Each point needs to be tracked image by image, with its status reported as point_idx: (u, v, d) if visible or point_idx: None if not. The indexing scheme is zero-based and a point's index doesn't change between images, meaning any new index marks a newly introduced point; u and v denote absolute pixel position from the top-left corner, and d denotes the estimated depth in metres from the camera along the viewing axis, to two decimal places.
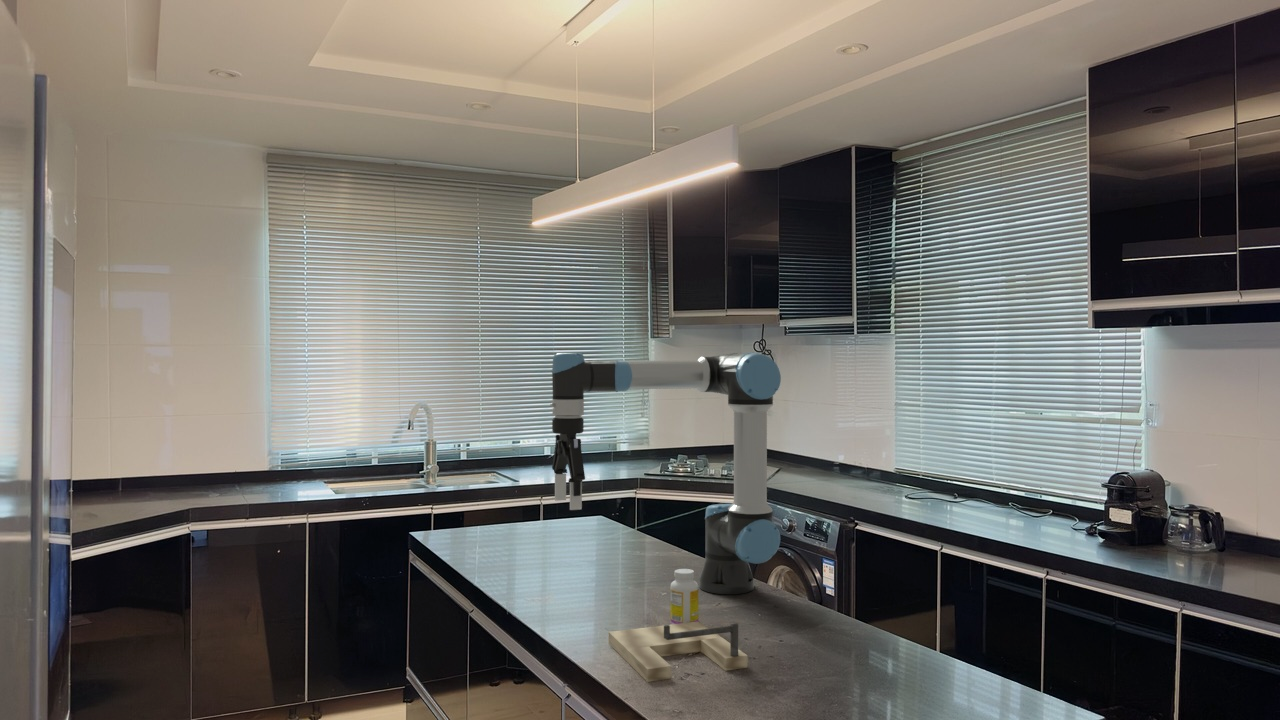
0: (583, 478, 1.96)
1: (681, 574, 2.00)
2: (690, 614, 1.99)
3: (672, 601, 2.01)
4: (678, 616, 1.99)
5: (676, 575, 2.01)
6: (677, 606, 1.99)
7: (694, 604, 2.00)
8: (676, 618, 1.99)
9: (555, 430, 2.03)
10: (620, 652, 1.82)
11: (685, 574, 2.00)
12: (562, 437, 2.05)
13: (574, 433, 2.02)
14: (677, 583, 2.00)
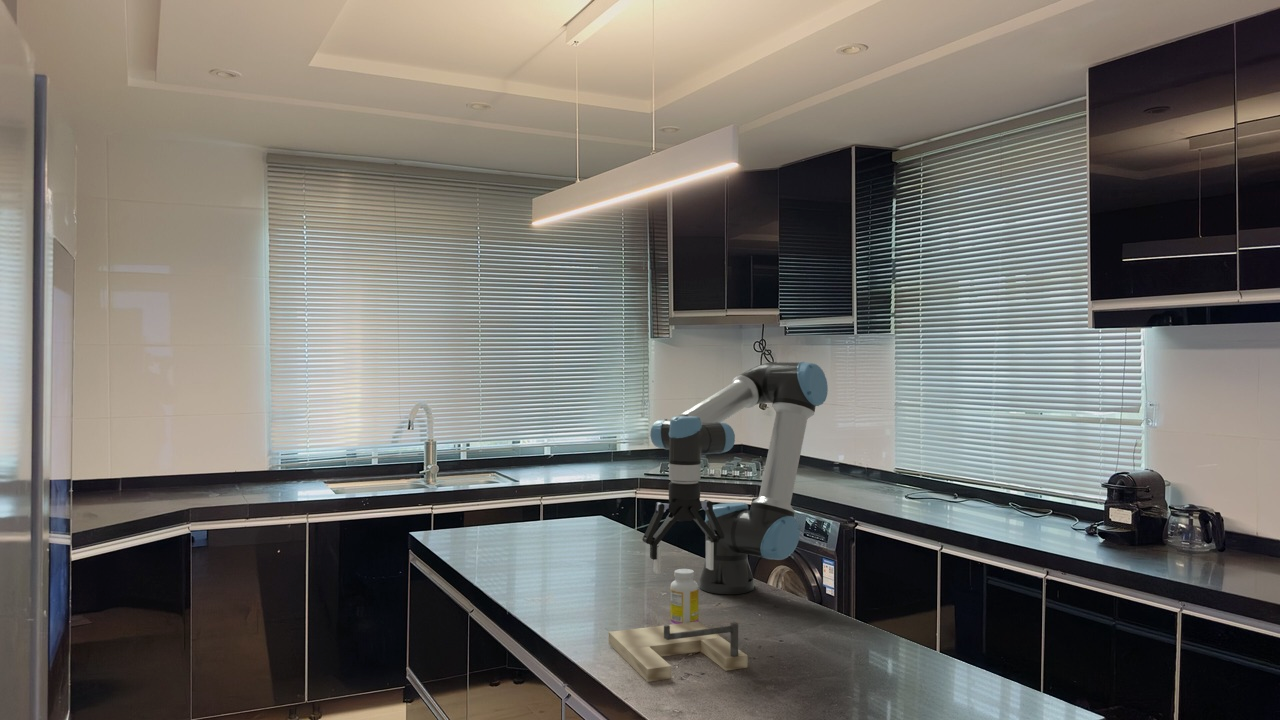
0: (645, 542, 1.98)
1: (681, 574, 2.00)
2: (690, 614, 1.99)
3: (672, 601, 2.01)
4: (678, 616, 1.99)
5: (676, 575, 2.01)
6: (677, 606, 1.99)
7: (694, 604, 2.00)
8: (676, 618, 1.99)
9: None
10: (620, 652, 1.82)
11: (685, 574, 2.00)
12: None
13: (671, 498, 2.00)
14: (677, 583, 2.00)
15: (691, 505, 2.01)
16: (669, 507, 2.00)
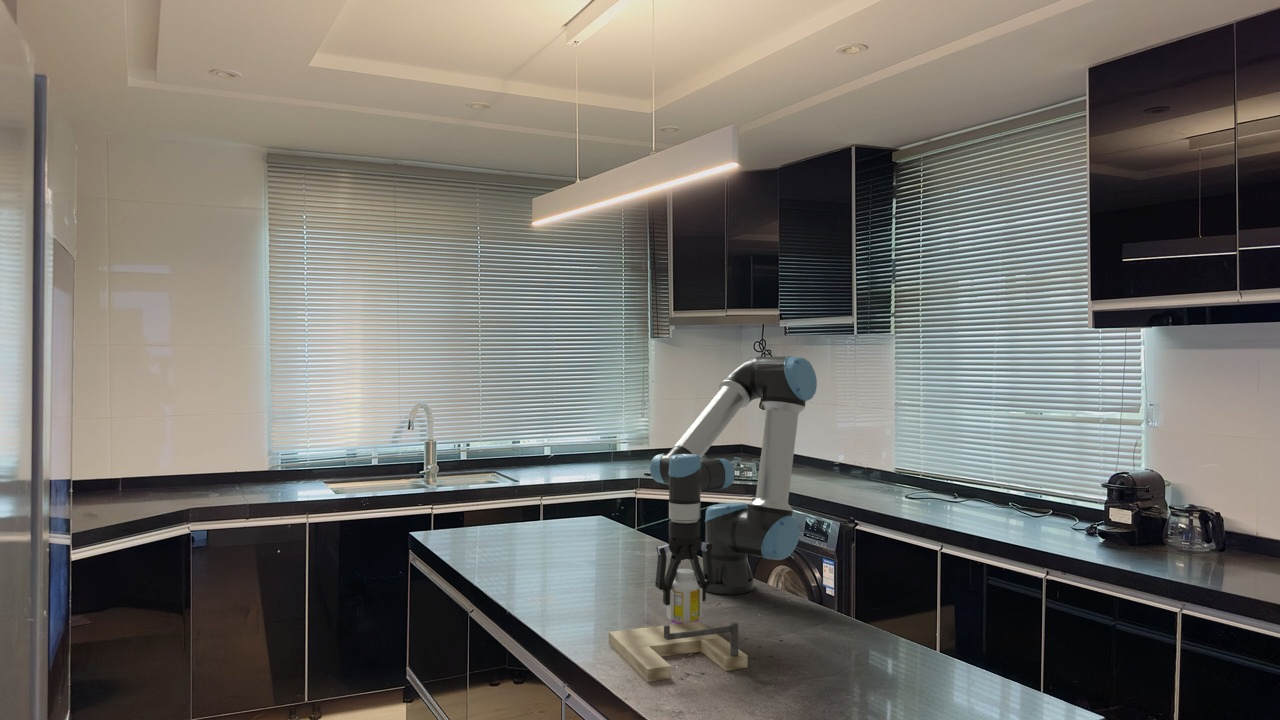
0: (659, 588, 1.99)
1: (681, 574, 2.00)
2: (690, 614, 1.99)
3: None
4: (678, 616, 1.99)
5: (676, 575, 2.01)
6: (677, 606, 1.99)
7: (694, 604, 2.00)
8: (676, 618, 1.99)
9: None
10: (620, 652, 1.82)
11: (685, 574, 2.00)
12: None
13: (671, 537, 2.00)
14: (677, 583, 2.00)
15: (692, 544, 2.02)
16: (669, 546, 2.00)
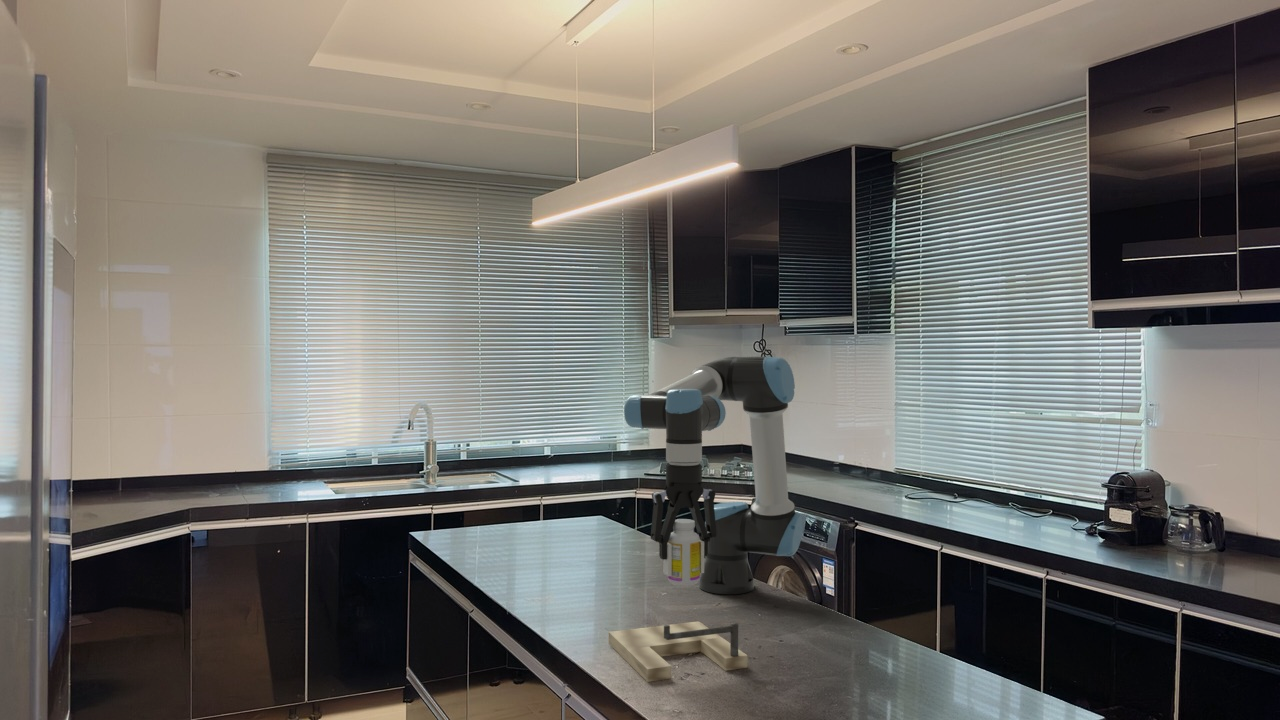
0: (654, 540, 1.74)
1: (680, 524, 1.75)
2: (690, 570, 1.74)
3: None
4: (677, 571, 1.75)
5: (674, 525, 1.76)
6: (675, 560, 1.75)
7: (694, 558, 1.75)
8: (674, 574, 1.75)
9: None
10: (620, 652, 1.82)
11: (685, 524, 1.75)
12: None
13: (668, 482, 1.76)
14: (675, 534, 1.76)
15: (693, 490, 1.77)
16: (667, 492, 1.75)
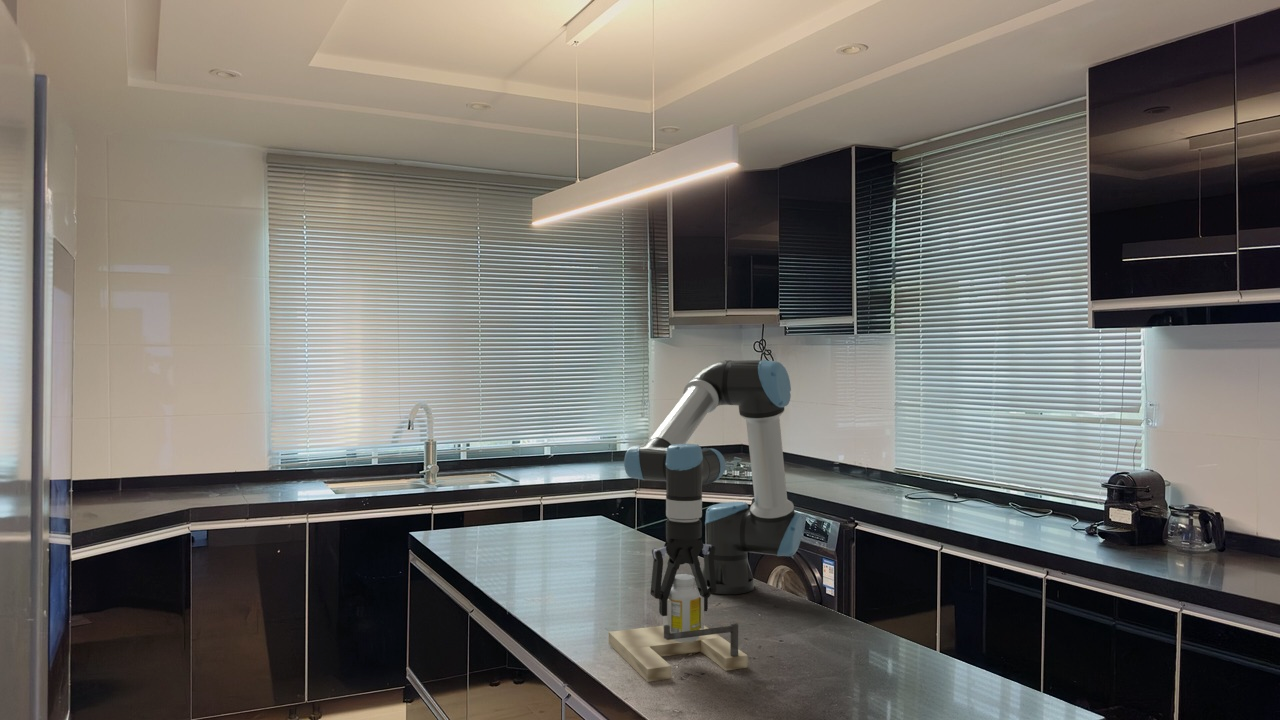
0: None
1: (680, 580, 1.75)
2: (689, 626, 1.74)
3: None
4: (676, 628, 1.75)
5: (674, 581, 1.76)
6: (675, 617, 1.75)
7: (694, 615, 1.75)
8: (674, 630, 1.75)
9: None
10: (620, 652, 1.82)
11: (684, 580, 1.75)
12: None
13: (668, 538, 1.76)
14: (675, 590, 1.76)
15: (693, 546, 1.77)
16: (666, 549, 1.75)
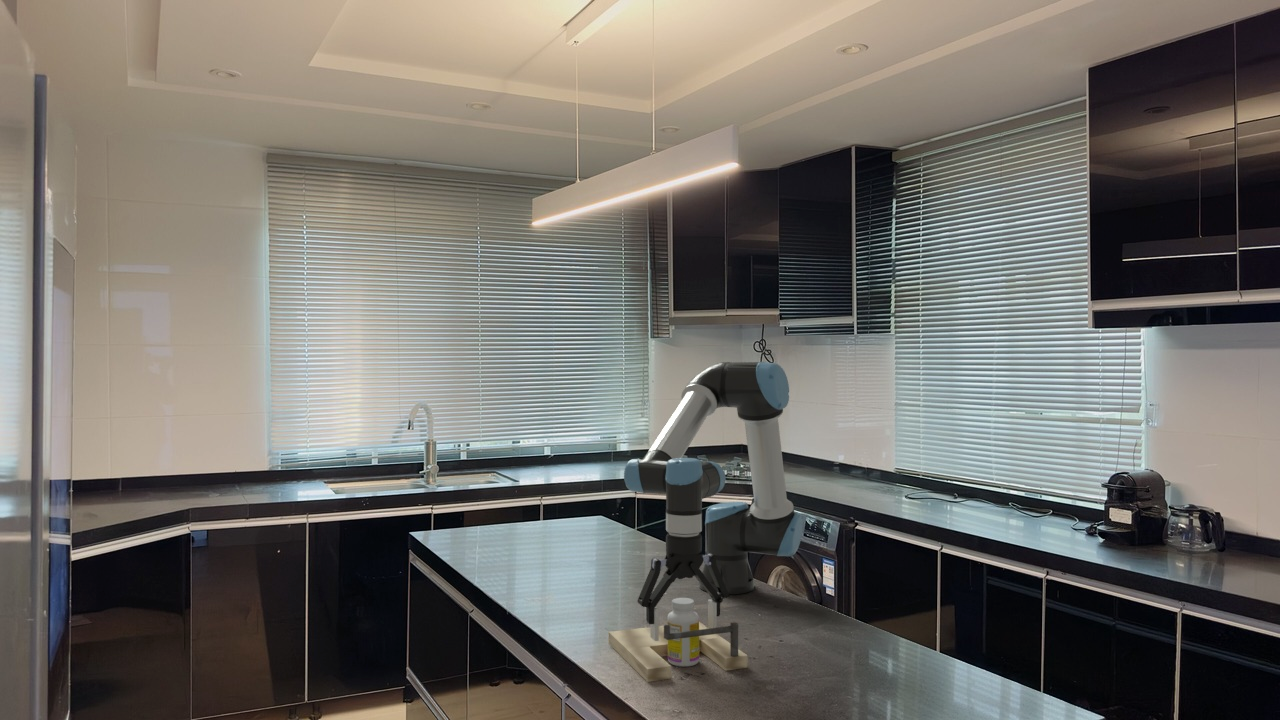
0: (641, 604, 1.73)
1: (679, 605, 1.75)
2: (689, 651, 1.74)
3: None
4: (676, 652, 1.75)
5: (674, 606, 1.76)
6: (674, 641, 1.75)
7: (694, 639, 1.75)
8: (674, 654, 1.75)
9: None
10: (620, 652, 1.82)
11: (684, 605, 1.75)
12: None
13: (668, 552, 1.76)
14: (674, 615, 1.76)
15: (692, 560, 1.77)
16: (666, 563, 1.75)
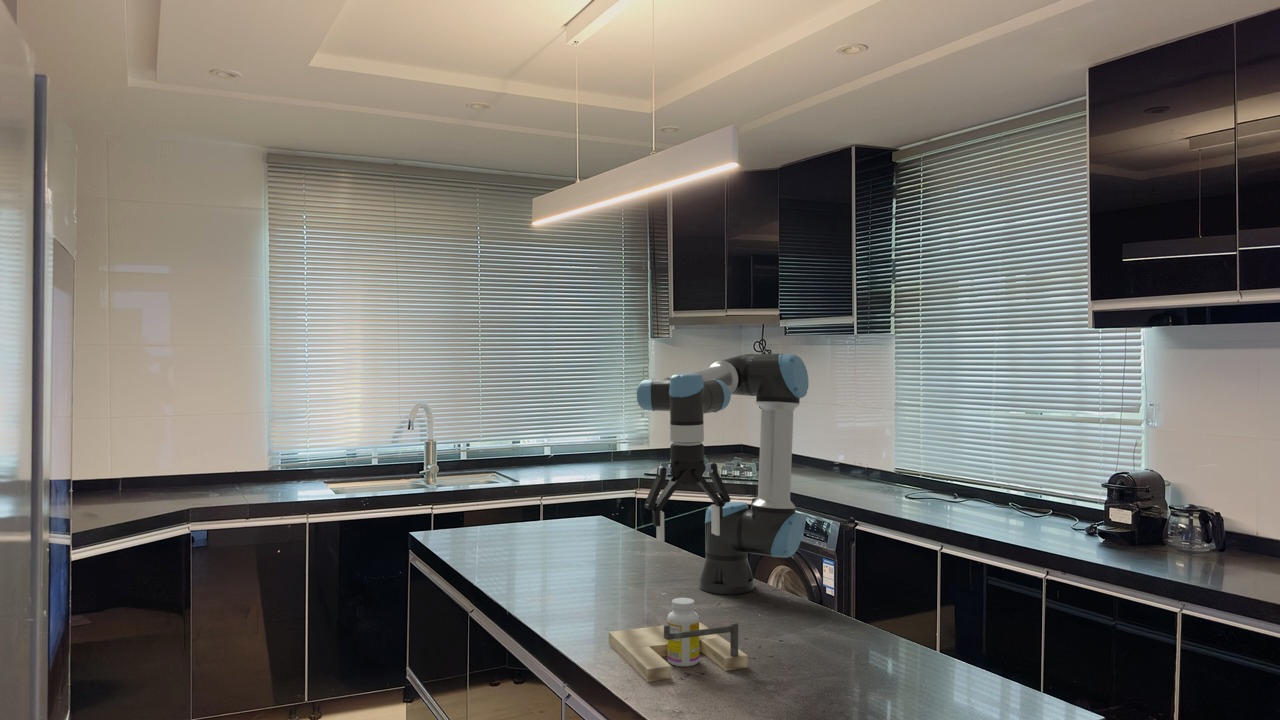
0: (647, 508, 1.86)
1: (679, 605, 1.75)
2: (689, 651, 1.74)
3: None
4: (676, 652, 1.75)
5: (674, 605, 1.76)
6: (674, 641, 1.75)
7: (694, 639, 1.75)
8: (674, 654, 1.75)
9: None
10: (620, 652, 1.82)
11: (684, 605, 1.75)
12: None
13: (673, 461, 1.88)
14: (674, 615, 1.76)
15: (695, 468, 1.90)
16: (671, 471, 1.88)
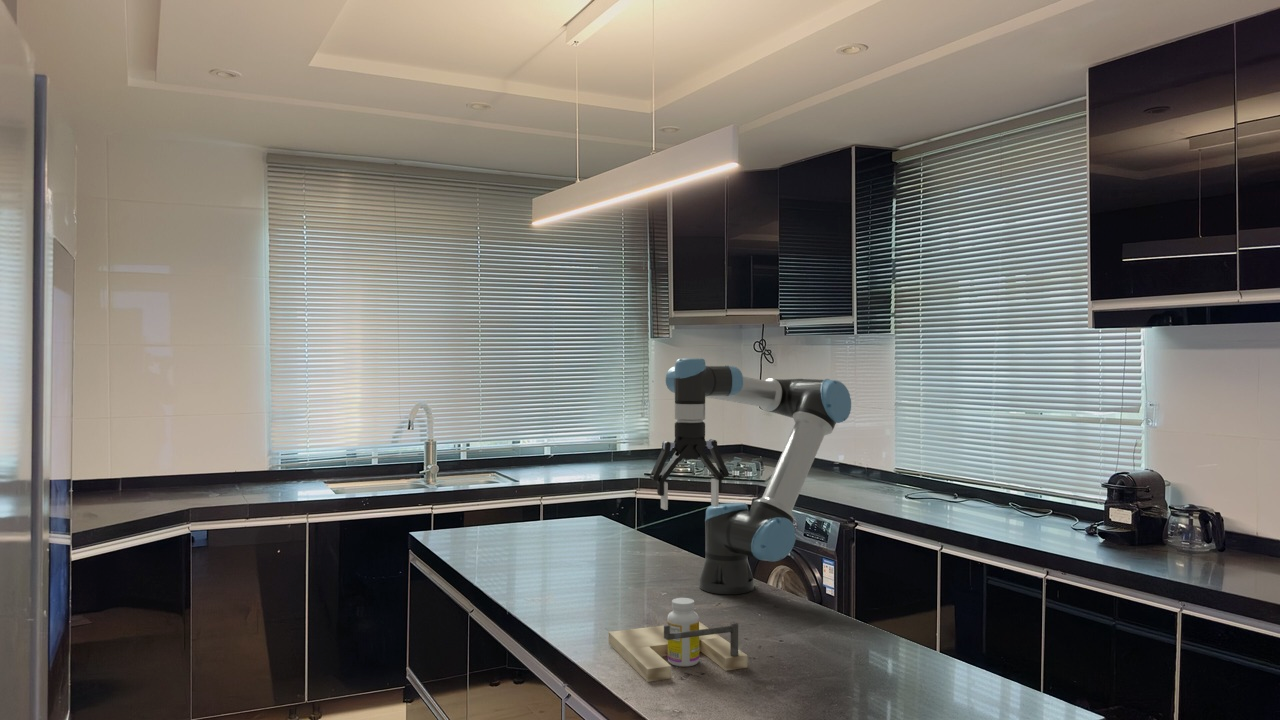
0: (653, 478, 2.05)
1: (679, 605, 1.75)
2: (689, 651, 1.74)
3: None
4: (676, 652, 1.75)
5: (674, 605, 1.76)
6: (674, 641, 1.75)
7: (694, 639, 1.75)
8: (674, 654, 1.75)
9: None
10: (620, 652, 1.82)
11: (684, 605, 1.75)
12: None
13: (677, 436, 2.07)
14: (674, 615, 1.76)
15: (696, 444, 2.08)
16: (675, 445, 2.07)
